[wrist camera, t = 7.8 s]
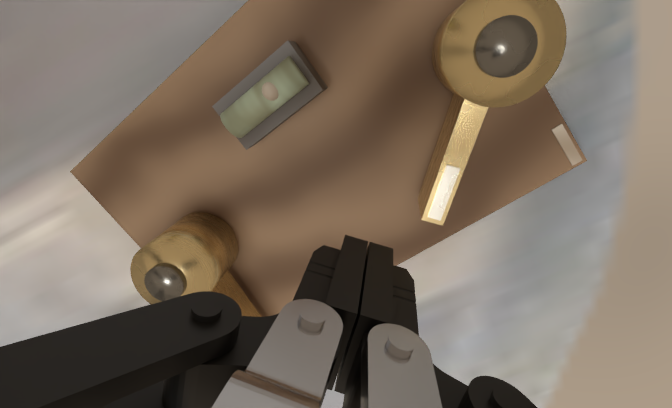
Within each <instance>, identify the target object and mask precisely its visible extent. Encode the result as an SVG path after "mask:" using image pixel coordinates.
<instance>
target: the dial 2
mask: <svg viewBox="0 0 672 408" xmlns="http://www.w3.org/2000/svg"><path fill="white" fill-rule="evenodd" d="M565 45H566V25H565V20H564V16H563V13H562V11H561V9H560V7H559V5H558V4H557V2H556V1H555V0H466V1H465V2H464V3H463V4H462V5H460V6H459V7H458V8H457V9H456V10H454V11H453V12H452V13H451V14H450V15H449V16H448V17H447V18H446V19H445V20H444V22H443V23H442V24H441V26H440V27H439V29H438V31H437V33H436V36H435V39H434V42H433V47H432V63H433V67H434V71H435V73H436V76H437V77H438V79H439V81H440V82H441V83H442V84H443V85H444V86H445V87H446V88H447V89H448V90H450V91H451V92H453V93H454V95H453V98H452V100H451V103H450V106H449V109H448V112H447V115H446V118H445V121H444V124H443V127H442V130H441V132H440V135H439V138H438V141H437V144H436V147H435V150H434V153H433V156H432V159H431V161H430V164H429V167H428V170H427V173H426V176H425V179H424V182H423V185H422V188H421V191H420V193H419V196H418V203H419V209H420V215H421V220H424V221H427V222H431V223H435V224H438V225H442V226H443V224H444V222H445V219H446V216H447V214H448V211H449V209H450V206H451V203H452V201H453V198H454V196H455V193H456V190H457V188H458V185H459V183H460V180H461V177H462V175H463V172H464V170H465V167H466V164H467V162H468V159H469V157H470V154H471V151H472V149H473V146H474V143H475V141H476V138H477V136H478V133H479V130H480V128H481V125H482V123H483V120H484V117H485V115H486V112H487V110H488V107H494V108H496V107H506V106H511V105H514V104H517V103H519V102H522V101H524V100H526V99H528V98H529V97H531V96H533V95H534V94H535V93H537V92H538V91H539V90H540V89H541V88H542V87H543V86H544V85H546V83H547V82H548V81H549V80H550V79H551V77H552V76H553V74H554V73H555V71H556V70H557V68H558V66H559V64H560V62H561V59H562V57H563V54H564V50H565Z"/></svg>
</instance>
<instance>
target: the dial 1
mask: <svg viewBox="0 0 672 408" xmlns="http://www.w3.org/2000/svg"><path fill="white" fill-rule="evenodd" d="M238 249H239V248H238V241H237V238H236V235H235V233H234V232H233V230H232V229H231V227H230V226H229V225H228V224H227V223H226V222H225V221H224V220H222V219H221V218H219V217H217V216H215V215H213V214H210V213H206V212H195V213H191V214H188V215H186V216H184V217H183V218H182V219H180V220H179V221H178V222H176V223H175V224H174V225H172V226H171V227H170V228H168V229H167V230H165V231H164V232H163V233H161V234H160V235H159V236H157V237H156V238H155V239H153V240H152V241H151V242H149V243H148V244H147V245H145V246H144V247H143V248H141V249H140V250H139V251H138V252H137V253H136V254H135V256H134V257H133V259H132V263H131V277H132V281H133V283H134V285H135V287H136V289H137V291H138V292H139V293H140V295H141V296H142V297H143V298H144V299H145V300H146V301H147V302H149V303H150V304H155V303H158V302H162V301H166V300H169V299H173V298H176V297H180V296H183V295H187V294H190V293H195V292H202V291H210V292H217V293H221V294H224V295H226V296H228V297H230V298H232V299H233V300H234V301H235V302H236V303H237V304H238V305H239V307H240V309H241V313H242V316H253V317H262V316H261V315H260V313H259V312H258V311H257V309H256V308H255V306H254V305H253V304H252V302H251V301H250V300H249V298H248V297H247V296H246V294H245V293H244V291H243V290H242V289H241V287H240V286H239V285H238V283H237V282H236V281H235V279H234V278H233V276H232V275H231V274H230V272H229V271H228V270H229V269H230V267H231V266H232V265H233V264H234V262H235V260H236V258H237V256H238Z"/></svg>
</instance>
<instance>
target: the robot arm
mask: <svg viewBox="0 0 672 408" xmlns="http://www.w3.org/2000/svg"><path fill="white" fill-rule="evenodd" d="M367 245H368V247H367ZM414 293H415V287H414V280H413V278H412V277H411V275H410V274H409V272H408V271H407V269H404V268H401V267H398V266H394V265H393V248H390V247H387V246H383V245H380V244H376V243H373V242H369V244H368V241H366V240H362V239H359V238H355V237H352V236H349V235H345V237H344V240H343V244H342V247H341V250H339V249H336V248H333V247H329V246H326V245H323V246H321V247H320V248H318V249H316V250H315V251H314V252H313V254H312V256H311V259H310V261H309V263H308V266H307V268H306V271H305V273H304V275H303V277H302V280H301V282H300V284H299V287H298V289H297V291H296V294H295V296H294V298H293V301H291V302H289V303H287V304H286V305H285V306H284V307H283V308H282V310H281V311H280V313H279V314H276V315H272V316H266V317H253V316H242V313H241V309H240V307H239V305H238V304H237V303H236V302H235V301H234V300H233V299H232V298H230V297H228V296H226V295H224V294H221V293H217V292H210V291H202V292H195V293H190V294H187V295H183V296H180V297H176V298H173V299H169V300H166V301H162V302H158V303H155V304H151V305H148V306H144V307H141V308H137V309H134V310H130V311H126V312H123V313H119V314H116V315H112V316H109V317H105V318H102V319H98V320H94V321H91V322H87V323H84V324H80V325H77V326H73V327H70V328H66V329H63V330H59V331H55V332H52V333H48V334H45V335H41V336H38V337H34V338H31V339H27V340H23V341H20V342H16V343H13V344H9V345H6V346H2V347H0V408H320V407H321V405H322V402H323V399H324V396H325V393H326V390H327V389H329V390H332V388H333V385H334V382H335V379H336V376H337V380H336V386H335V391H336V392H339V393H343V394H345V395H344V402H343V407H342V408H537V407H536V406H535V405H534V404H533V403H532V402H531V401H530V400H529V399H528V398H527V397H526V396H525V395H523V394H522V393H521V392H520V391H519V390H518V389H516V388H515V387H513V386H512V385H510V384H509V383H507V382H505V381H503V380H500V379H498V378H494V377H490V376H479V377H476V378H474V379H473V380H472V381H471V382H470V384H469V386H467V385H465V384H463V383H462V382H460V381H458V380H456V379H454V378H453V377H451V376H449V375H447V374H446V373H444V372H443V371H441V370H440V369H439V368H437V367H436V366H435V365H434V364H433V362H432V358H431V353H430V350H429V348H428V346H427V345H426V343H425V342H424V341H423V340H422V339H421V338H420V337H419V333H418V322H417V310H416V304H415V302H416V299H415V294H414ZM337 373H338V375H337Z"/></svg>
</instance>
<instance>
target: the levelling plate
mask: <svg viewBox="0 0 672 408" xmlns="http://www.w3.org/2000/svg"><path fill="white" fill-rule="evenodd" d="M465 1H466V0H248V1H247V2H246V3H245V4H244V5H243V6H242V7H241V8H240V9H239V10H238V11H237V12H236V13H235V14H234V15H233V16H232V17H231V18H230V19H229V20H228V21H226V22H225V23H224V24H223V25H222V26H221V27H220V28H219V29H218V30H217V31H216V32H215V33H214V34H213V35H212V36H211V37H210V38H209V39H208V40H207V41H206V42H205V43H204V44H203V45H201V46H200V47H199V48H198V49H197V50H196V51H195V52H194V53H193V54H192V55H191V56H190V57H189V58H188V59H187V60H186V61H185V62H184V63H183V64H182V65H181V66H180V67H179V68H178V69H177V70H175V71H174V72H173V73H172V74H171V75H170V76H169V77H168V78H167V79H166V80H165V81H164V82H163V83H162V84H161V85H160V86H159V87H158V88H157V89H156V90H155V91H154V92H153V93H152V94H150V95H149V96H148V97H147V98H146V99H145V100H144V101H143V102H142V103H141V104H140V105H139V106H138V107H137V108H136V109H135V110H134V111H133V112H132V113H131V114H130V115H129V116H128V117H127V118H125V119H124V120H123V121H122V122H121V123H120V124H119V125H118V126H117V127H116V128H115V129H114V130H113V131H112V132H111V133H110V134H109V135H108V136H107V137H106V138H105V139H104V140H103V141H102V142H101V143H99V144H98V145H97V146H96V147H95V148H94V149H93V150H92V151H91V152H90V153H89V154H88V155H87V156H86V157H85V158H84V159H83V160H82V161H81V162H80V163H79V164H78V165H77V166H76V167H74V168H73V169H72V170H71V171H70V172H71V173H72V174H73V175H74V176H75V177H76V178H77V179H78V181H79V182H80V183H81V184H82V185H83V186H84V187H85V188H86V189H87V190H88V191H89V192H90V194H91V195H92V196H93V197H94V198H95V199H96V200H97V201H98V202H99V203H100V204H101V205H102V207H103V208H104V209H105V210H106V211H107V212H108V213H109V214H110V215H111V216H112V217H113V218H114V219H115V221H116V222H117V223H118V224H119V225H120V226H121V227H122V228H123V229H124V230H125V231H126V232H127V234H128V235H129V236H130V237H131V238H132V239H133V240H134V241H135V242H136V243H137V244H138V245H139V246H140V248H143V247H144V246H145V245H147V244H148V243H149V242H151V241H152V240H153V239H155V238H156V237H157V236H159V235H160V234H161V233H163V232H164V231H165V230H167V229H168V228H170V227H171V226H172V225H174V224H175V223H176V222H178V221H179V220H180V219H182V218H183V217H184V216H186V215H188V214H191V213H195V212H206V213H210V214H213V215H215V216H217V217H219V218H221V219H222V220H224V221H225V222H226V223H227V224H228V225H229V226H230V227H231V229H232V230H233V232H234V233H235V235H236V238H237V241H238V248H239V249H238V256H237V258H236V260H235V262H234V264H233V265H232V266H231V267H230V269H229V270H228V271H229V272H230V274H231V275H232V276H233V278H234V279H235V281H236V282H237V283H238V285H239V286H240V287H241V289H242V290H243V291H244V293H245V294H246V296H247V297H248V298H249V300H250V301H251V302H252V304H253V305H254V306H255V308H256V309H257V311H258V312H259V313H260V315H261V316H262V317H266V316H272V315H276V314H279V313H280V311H281V310H282V308H283V307H284V306H285V305H286V304H287V303H289V302H291V301H293V298H294V296H295V294H296V291H297V289H298V287H299V284H300V282H301V280H302V277H303V275H304V273H305V271H306V268H307V266H308V263H309V261H310V259H311V256H312V254H313V252H314V251H315V250H316V249H318V248H320V247H321V246H323V245H326V246H329V247H333V248H336V249H339V250H341V247H342V244H343V240H344V237H345V235H349V236H352V237H355V238H359V239H362V240H366V241H368V244H369V242H373V243H376V244H380V245H383V246H387V247H390V248H393V265H394V266H396V265H398V264H400V263H402V262H403V261H405V260H407V259H409V258H411V257H413V256H414V255H416V254H418V253H420V252H422V251H423V250H425V249H427V248H429V247H431V246H433V245H434V244H436V243H438V242H440V241H442V240H443V239H445V238H447V237H449V236H451V235H453V234H454V233H456V232H458V231H460V230H462V229H463V228H465V227H467V226H469V225H471V224H473V223H474V222H476V221H478V220H480V219H482V218H483V217H485V216H487V215H489V214H491V213H493V212H494V211H496V210H498V209H500V208H502V207H503V206H505V205H507V204H509V203H511V202H513V201H514V200H516V199H518V198H520V197H522V196H524V195H525V194H527V193H529V192H531V191H533V190H534V189H536V188H538V187H540V186H542V185H544V184H545V183H547V182H549V181H551V180H553V179H554V178H556V177H558V176H560V175H562V174H564V173H565V172H567V171H569V170H571V169H573V168H574V167H576V166H578V165H580V164H582V163H584V162H585V161H587V160H586V158H585V156H584V155H583V153H582V151H581V149H580V148H579V146H578V144H577V142H576V140H575V139H574V137H573V135H572V133H571V132H570V130H569V128H568V126H567V124H566V123H565V121H564V119H563V117H562V116H561V114H560V112H559V110H558V108H557V107H556V105H555V103H554V101H553V100H552V98H551V96H550V94H549V93H548V91H547V89H546V87H545V85H544V86H543V87H542V88H541V89H540V90H539V91H538V92H537V93H535V94H534V95H533V96H531V97H529V98H528V99H526V100H524V101H522V102H519V103H517V104H514V105H511V106H506V107H496V108H494V107H488V110H487V112H486V115H485V117H484V120H483V123H482V125H481V128H480V130H479V133H478V136H477V138H476V141H475V143H474V146H473V149H472V151H471V154H470V157H469V159H468V162H467V164H466V167H465V170H464V172H463V175H462V177H461V180H460V183H459V185H458V188H457V190H456V193H455V196H454V198H453V201H452V203H451V206H450V209H449V211H448V214H447V216H446V219H445V222H444V224H443V226H442V225H438V224H435V223H431V222H427V221H424V220H421V215H420V209H419V203H418V196H419V193H420V191H421V188H422V185H423V182H424V179H425V176H426V173H427V170H428V167H429V164H430V161H431V159H432V156H433V153H434V150H435V147H436V144H437V141H438V138H439V135H440V132H441V130H442V127H443V124H444V121H445V118H446V115H447V112H448V109H449V106H450V103H451V100H452V98H453V95H454V93H453V92H451V91H450V90H448V89H447V88H446V87H445V86H444V85H443V84H442V83H441V82H440V81H439V79H438V77H437V76H436V73H435V71H434V67H433V63H432V47H433V42H434V39H435V36H436V33H437V31H438V29H439V27H440V26H441V24H442V23H443V22H444V20H445V19H446V18H447V17H448V16H449V15H450V14H451V13H452V12H453V11H454V10H456V9H457V8H458V7H459V6H460V5H462V4H463V3H464V2H465ZM367 247H368V245H367Z"/></svg>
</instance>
